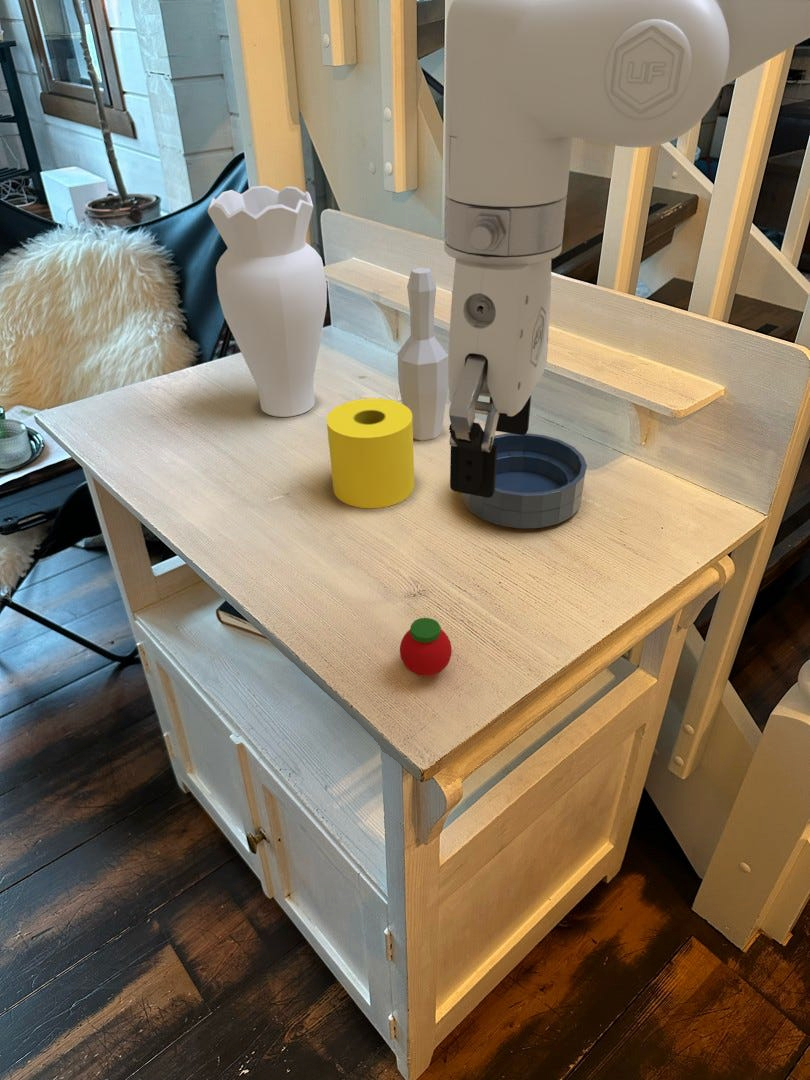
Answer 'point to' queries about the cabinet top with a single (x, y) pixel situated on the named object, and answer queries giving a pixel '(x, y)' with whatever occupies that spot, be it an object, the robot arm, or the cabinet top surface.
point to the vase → (272, 291)
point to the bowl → (532, 482)
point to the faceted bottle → (423, 360)
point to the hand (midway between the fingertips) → (491, 460)
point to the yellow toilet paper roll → (371, 452)
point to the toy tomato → (425, 648)
